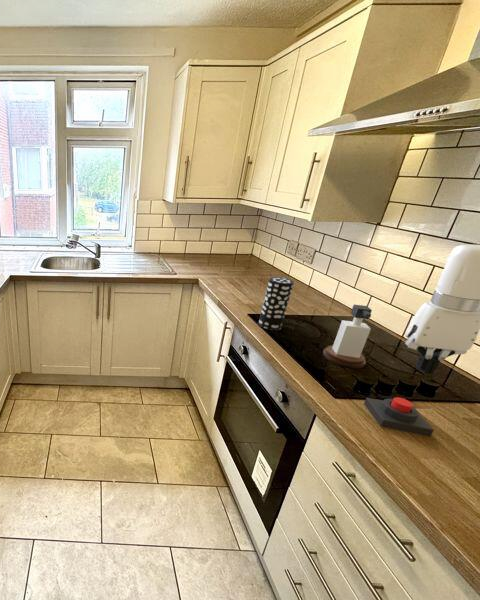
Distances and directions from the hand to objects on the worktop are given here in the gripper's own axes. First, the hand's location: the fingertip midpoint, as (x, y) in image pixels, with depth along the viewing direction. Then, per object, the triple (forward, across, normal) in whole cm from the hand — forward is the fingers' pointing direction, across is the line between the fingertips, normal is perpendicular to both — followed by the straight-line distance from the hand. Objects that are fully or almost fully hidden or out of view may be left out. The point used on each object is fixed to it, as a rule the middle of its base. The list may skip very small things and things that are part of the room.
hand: (424, 371), depth 76 cm
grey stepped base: (+15, +2, 0) cm, 15 cm away
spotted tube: (+15, +21, -50) cm, 56 cm away
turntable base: (+15, +2, -30) cm, 33 cm away
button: (+12, +1, 0) cm, 12 cm away
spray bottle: (+14, +2, -30) cm, 33 cm away
